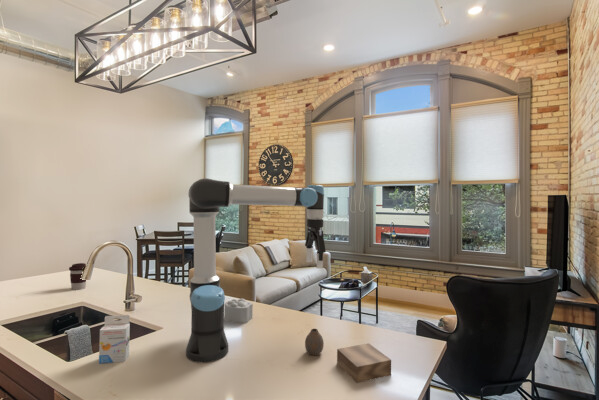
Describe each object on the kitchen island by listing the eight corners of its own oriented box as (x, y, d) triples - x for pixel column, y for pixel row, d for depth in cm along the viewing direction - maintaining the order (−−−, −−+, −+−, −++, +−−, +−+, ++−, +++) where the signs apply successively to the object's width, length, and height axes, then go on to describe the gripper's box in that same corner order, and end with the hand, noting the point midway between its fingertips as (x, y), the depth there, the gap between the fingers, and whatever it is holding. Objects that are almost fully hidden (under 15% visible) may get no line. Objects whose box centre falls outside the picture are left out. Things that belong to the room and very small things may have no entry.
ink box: (98, 364, 111) (98, 321, 111) (103, 357, 116) (104, 315, 116) (125, 361, 113) (126, 319, 113) (129, 355, 118) (130, 314, 118)
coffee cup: (64, 290, 197) (64, 265, 197) (78, 285, 207) (78, 262, 207) (78, 291, 195) (79, 266, 195) (92, 286, 205) (92, 263, 205)
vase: (310, 359, 117) (311, 334, 116) (301, 351, 123) (301, 328, 123) (326, 355, 120) (327, 331, 120) (317, 347, 126) (317, 325, 126)
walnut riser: (356, 382, 102) (357, 366, 102) (337, 363, 114) (337, 348, 114) (391, 375, 107) (391, 359, 107) (368, 356, 119) (368, 343, 119)
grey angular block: (244, 324, 148) (244, 305, 148) (219, 320, 152) (219, 302, 152) (254, 316, 157) (254, 299, 157) (231, 313, 162) (231, 296, 161)
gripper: (333, 220, 139) (332, 270, 139) (313, 217, 162) (312, 259, 162) (317, 220, 136) (316, 271, 136) (299, 217, 160) (298, 260, 160)
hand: (314, 264), depth 149 cm, fingers open, 13 cm apart
